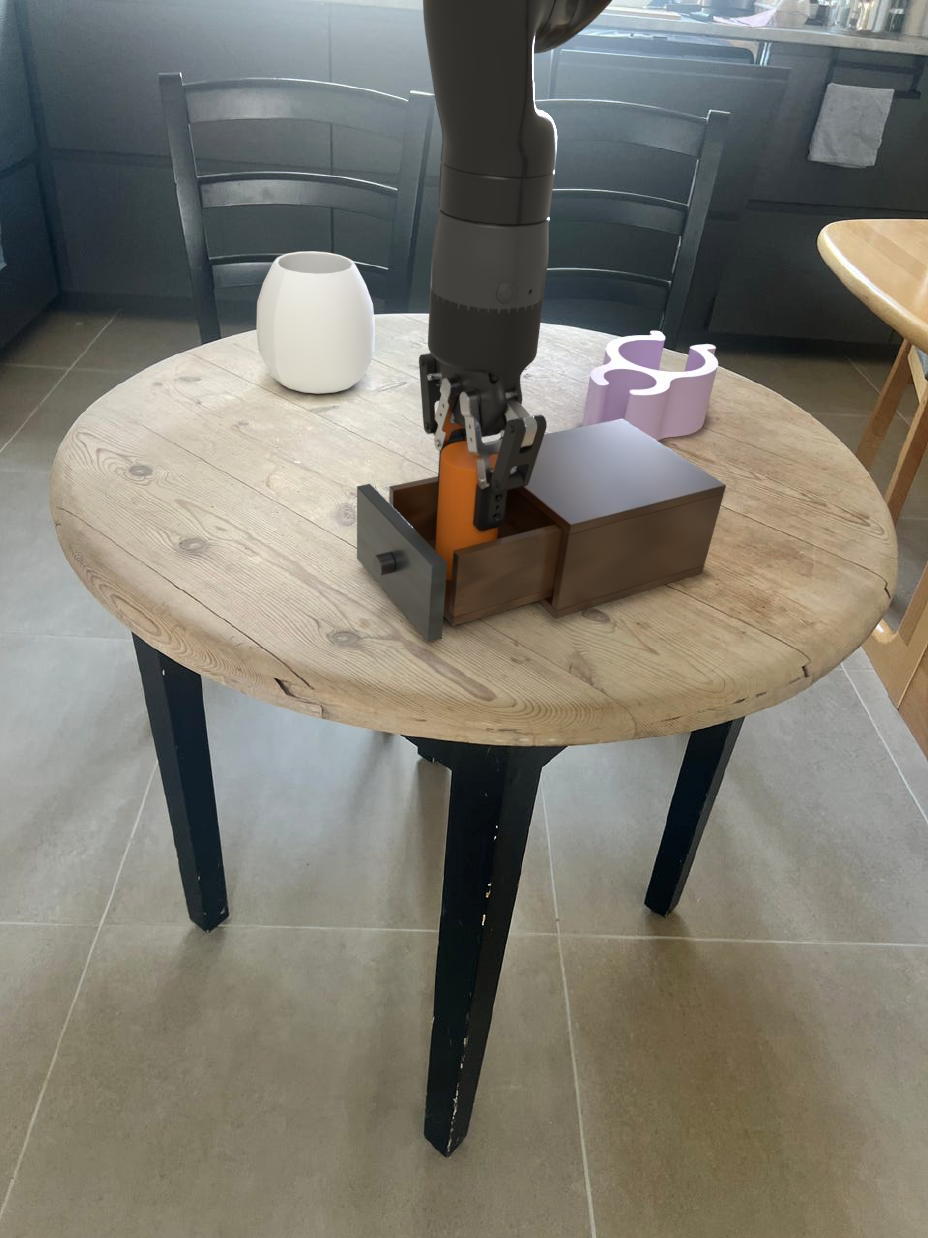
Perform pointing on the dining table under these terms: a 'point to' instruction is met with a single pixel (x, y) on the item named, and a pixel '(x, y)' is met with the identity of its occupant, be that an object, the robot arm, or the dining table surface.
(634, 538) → the cabinet
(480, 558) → the drawer
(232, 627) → the dining table surface
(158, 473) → the dining table surface
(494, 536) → the roller
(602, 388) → the clip
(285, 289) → the white vase
